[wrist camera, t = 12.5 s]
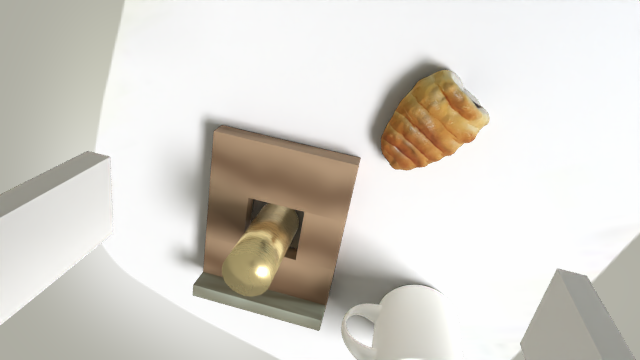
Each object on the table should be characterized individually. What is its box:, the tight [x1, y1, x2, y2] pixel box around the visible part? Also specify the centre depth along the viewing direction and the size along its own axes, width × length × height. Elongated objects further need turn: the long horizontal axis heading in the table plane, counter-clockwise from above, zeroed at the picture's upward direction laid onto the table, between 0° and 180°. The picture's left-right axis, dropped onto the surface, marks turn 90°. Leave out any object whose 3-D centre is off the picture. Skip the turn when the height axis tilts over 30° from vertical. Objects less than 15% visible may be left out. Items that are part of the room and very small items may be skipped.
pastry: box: [381, 70, 489, 170], centre depth 38 cm, size 9×7×4 cm
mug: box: [341, 285, 463, 360], centre depth 43 cm, size 9×12×11 cm
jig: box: [193, 125, 360, 331], centre depth 44 cm, size 18×14×4 cm
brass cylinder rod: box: [222, 203, 299, 296], centre depth 42 cm, size 4×4×10 cm
